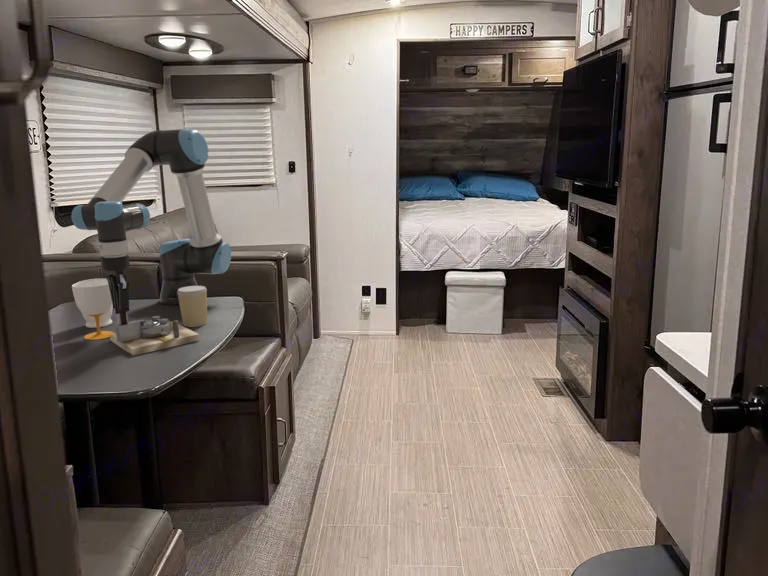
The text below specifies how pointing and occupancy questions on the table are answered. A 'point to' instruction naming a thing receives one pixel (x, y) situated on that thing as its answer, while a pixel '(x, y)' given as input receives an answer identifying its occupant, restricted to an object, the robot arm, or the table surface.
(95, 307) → the cup
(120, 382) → the table surface
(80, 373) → the table surface
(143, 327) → the grey notched machine part
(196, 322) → the coffee cup
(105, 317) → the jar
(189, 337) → the housing plate
